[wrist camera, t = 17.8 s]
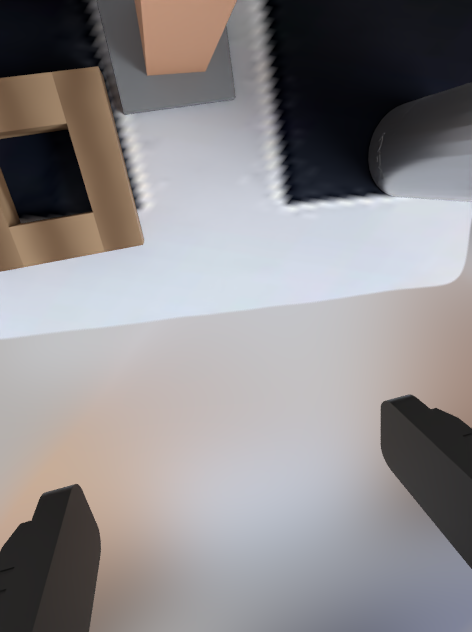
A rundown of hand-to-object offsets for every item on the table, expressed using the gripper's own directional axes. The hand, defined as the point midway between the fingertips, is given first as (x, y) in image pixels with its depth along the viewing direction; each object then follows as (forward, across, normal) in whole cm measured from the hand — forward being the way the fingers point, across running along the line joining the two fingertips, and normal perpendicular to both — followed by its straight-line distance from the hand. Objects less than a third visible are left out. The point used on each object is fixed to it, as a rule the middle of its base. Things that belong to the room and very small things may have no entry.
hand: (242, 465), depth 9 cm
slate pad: (+30, -3, -18) cm, 35 cm away
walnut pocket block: (+30, +10, -9) cm, 33 cm away
